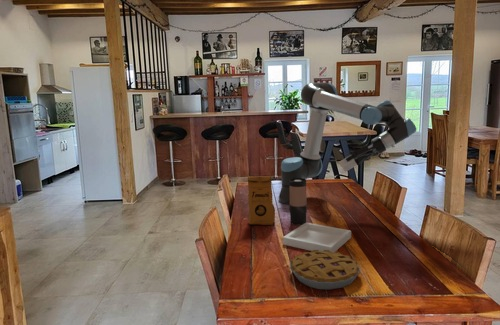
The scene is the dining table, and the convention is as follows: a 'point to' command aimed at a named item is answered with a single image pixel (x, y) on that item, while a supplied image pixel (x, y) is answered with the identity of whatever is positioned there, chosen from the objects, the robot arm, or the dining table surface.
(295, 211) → the travel mug
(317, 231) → the tray
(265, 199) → the coffee package
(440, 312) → the dining table surface
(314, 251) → the pie
